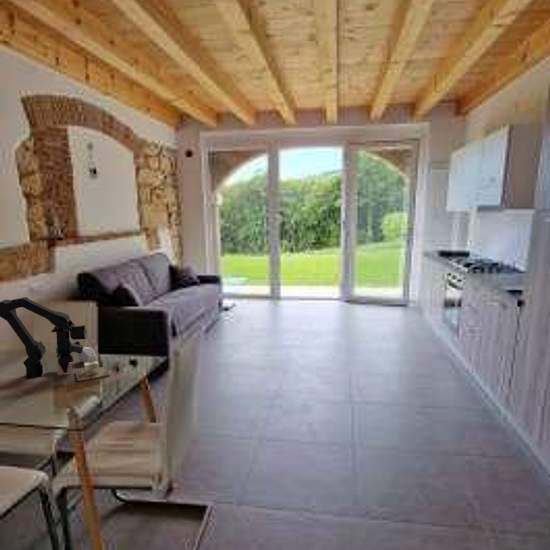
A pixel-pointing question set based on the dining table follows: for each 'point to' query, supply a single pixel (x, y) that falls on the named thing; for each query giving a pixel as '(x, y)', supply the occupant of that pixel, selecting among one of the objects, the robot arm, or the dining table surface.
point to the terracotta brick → (67, 369)
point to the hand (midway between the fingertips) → (65, 371)
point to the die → (86, 355)
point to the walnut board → (102, 373)
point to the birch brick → (91, 368)
